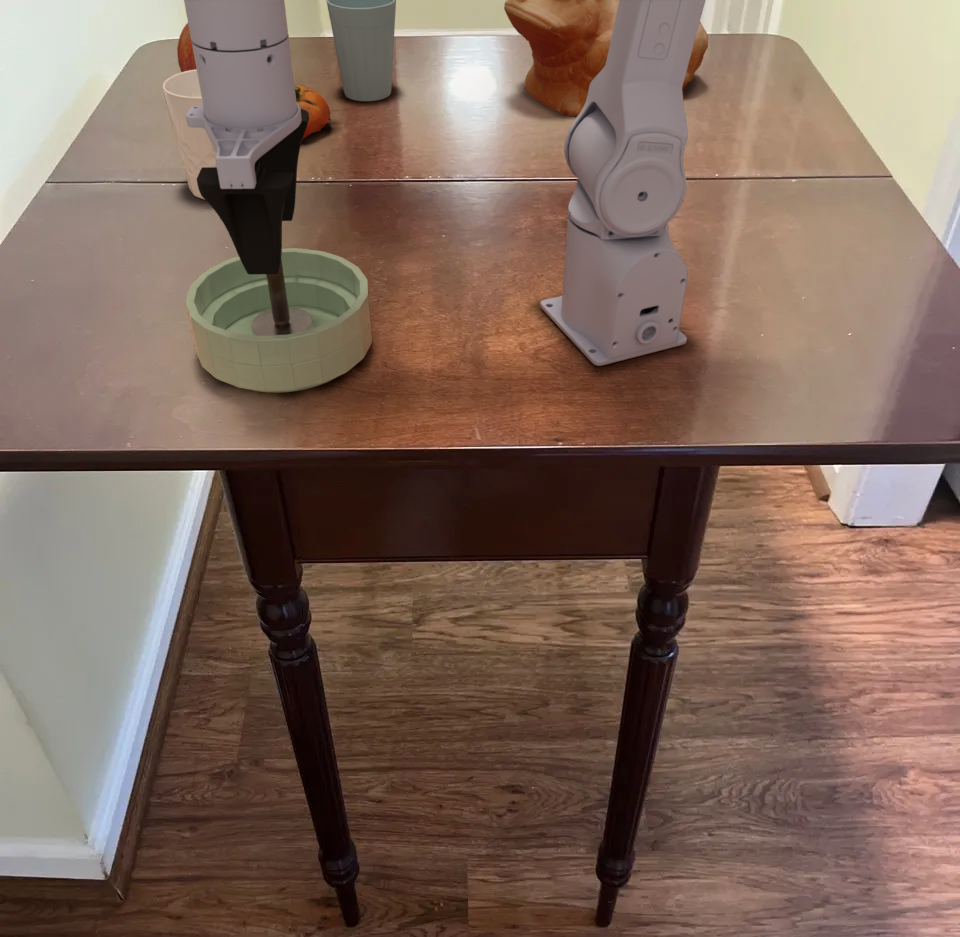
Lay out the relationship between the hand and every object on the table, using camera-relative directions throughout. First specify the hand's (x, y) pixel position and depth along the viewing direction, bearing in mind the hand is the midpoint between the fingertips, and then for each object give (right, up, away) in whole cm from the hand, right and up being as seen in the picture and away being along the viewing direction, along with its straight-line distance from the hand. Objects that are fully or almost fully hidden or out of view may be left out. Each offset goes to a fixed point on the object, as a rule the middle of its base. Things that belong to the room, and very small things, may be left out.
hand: (271, 244), depth 66 cm
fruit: (-15, +28, +46) cm, 55 cm away
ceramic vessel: (+29, +29, +48) cm, 63 cm away
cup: (+1, +29, +47) cm, 55 cm away
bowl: (0, -7, +6) cm, 9 cm away
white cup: (-10, +12, +27) cm, 31 cm away
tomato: (-6, +21, +38) cm, 44 cm away
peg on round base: (0, -6, +5) cm, 8 cm away
